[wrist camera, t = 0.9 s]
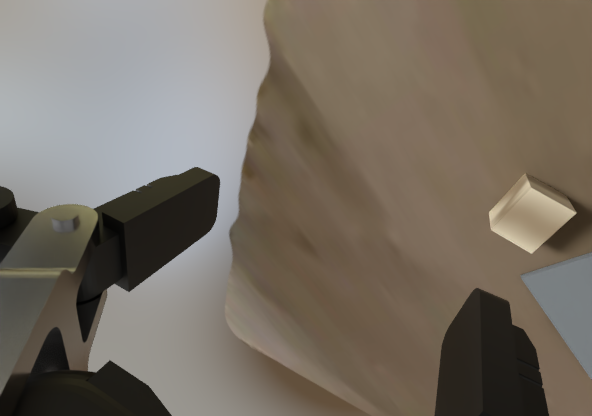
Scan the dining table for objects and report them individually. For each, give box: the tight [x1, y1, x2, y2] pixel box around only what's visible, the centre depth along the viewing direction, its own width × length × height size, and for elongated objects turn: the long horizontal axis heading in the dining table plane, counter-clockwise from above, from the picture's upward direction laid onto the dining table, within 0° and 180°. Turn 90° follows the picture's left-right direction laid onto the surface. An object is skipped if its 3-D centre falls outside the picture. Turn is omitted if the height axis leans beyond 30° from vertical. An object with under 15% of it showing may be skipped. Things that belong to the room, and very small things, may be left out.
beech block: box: [489, 173, 576, 254], centre depth 32 cm, size 5×4×4 cm
